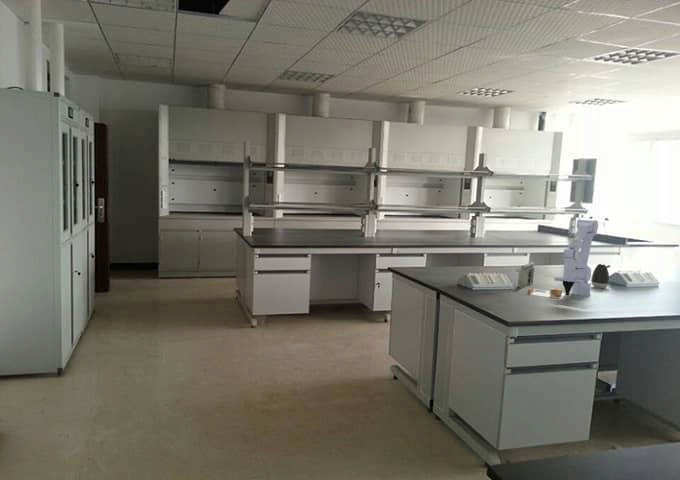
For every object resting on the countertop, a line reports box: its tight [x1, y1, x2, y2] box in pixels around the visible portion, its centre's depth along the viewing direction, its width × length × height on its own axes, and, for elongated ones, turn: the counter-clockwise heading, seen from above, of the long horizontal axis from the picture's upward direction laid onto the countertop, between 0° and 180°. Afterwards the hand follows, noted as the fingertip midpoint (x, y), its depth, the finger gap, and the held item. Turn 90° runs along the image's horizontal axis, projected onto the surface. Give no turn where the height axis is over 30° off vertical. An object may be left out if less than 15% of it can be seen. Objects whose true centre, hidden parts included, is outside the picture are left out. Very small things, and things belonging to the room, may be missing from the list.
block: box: [549, 287, 563, 299], centre depth 292 cm, size 5×5×4 cm
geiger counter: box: [515, 261, 535, 289], centre depth 328 cm, size 14×6×25 cm
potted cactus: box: [590, 263, 611, 290], centre depth 329 cm, size 10×10×15 cm
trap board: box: [526, 287, 566, 300], centre depth 298 cm, size 18×18×4 cm
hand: (567, 295), depth 289 cm, fingers closed
